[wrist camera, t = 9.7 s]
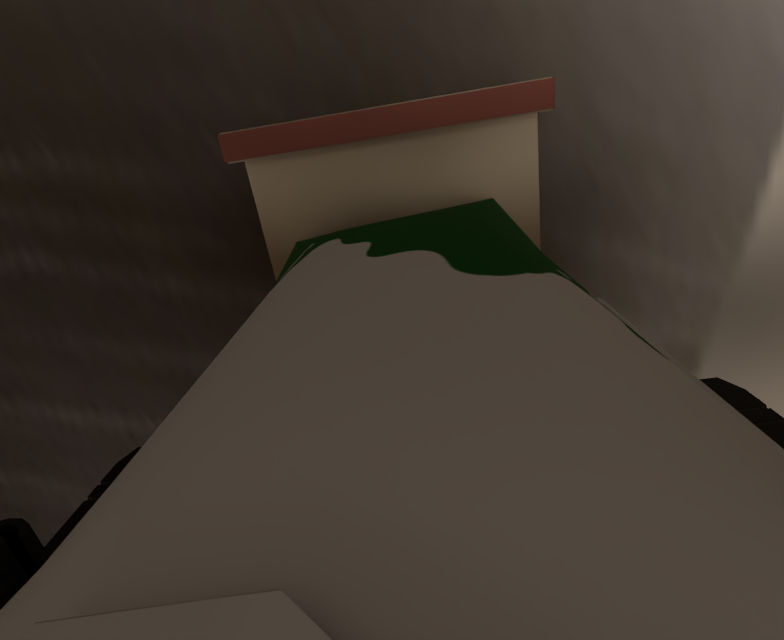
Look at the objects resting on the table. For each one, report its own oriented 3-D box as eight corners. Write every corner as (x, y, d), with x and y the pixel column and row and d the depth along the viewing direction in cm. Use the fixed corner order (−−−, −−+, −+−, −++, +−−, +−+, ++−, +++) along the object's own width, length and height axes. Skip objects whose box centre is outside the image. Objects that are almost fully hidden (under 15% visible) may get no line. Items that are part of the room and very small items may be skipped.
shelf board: (254, 133, 17) (216, 133, 13) (521, 88, 16) (554, 75, 13) (359, 549, 25) (352, 616, 22) (537, 532, 24) (560, 599, 21)
